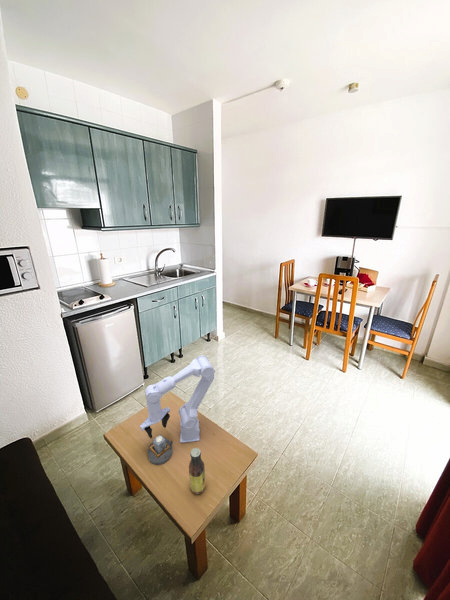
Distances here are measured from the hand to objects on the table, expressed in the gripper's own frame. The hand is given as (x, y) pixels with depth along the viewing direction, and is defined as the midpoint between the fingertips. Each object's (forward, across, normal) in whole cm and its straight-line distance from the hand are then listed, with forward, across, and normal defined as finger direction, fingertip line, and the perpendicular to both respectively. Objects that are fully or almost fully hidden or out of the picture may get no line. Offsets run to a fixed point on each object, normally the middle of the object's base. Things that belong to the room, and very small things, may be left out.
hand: (157, 431), depth 115 cm
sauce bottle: (+10, 0, +28) cm, 29 cm away
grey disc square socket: (+9, +2, +4) cm, 10 cm away
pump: (+6, +2, +4) cm, 8 cm away
